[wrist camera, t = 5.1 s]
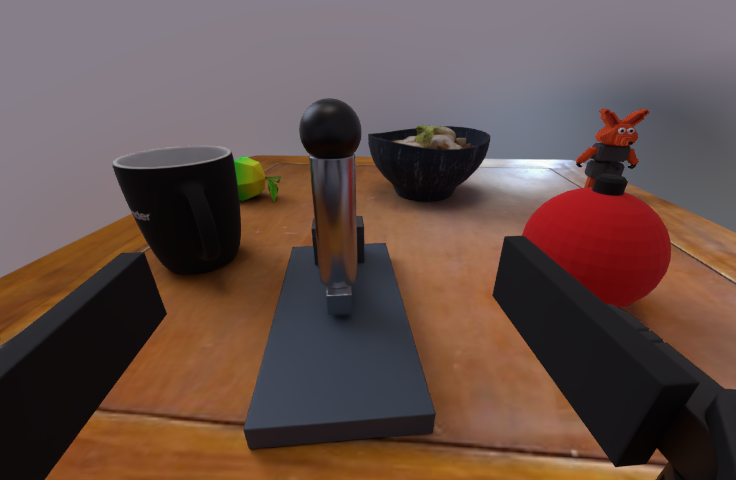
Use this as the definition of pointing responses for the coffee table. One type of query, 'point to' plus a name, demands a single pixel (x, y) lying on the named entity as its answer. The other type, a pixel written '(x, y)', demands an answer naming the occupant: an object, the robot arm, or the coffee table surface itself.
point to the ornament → (604, 239)
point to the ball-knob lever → (334, 195)
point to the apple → (253, 179)
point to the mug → (184, 204)
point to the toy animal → (612, 146)
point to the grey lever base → (339, 360)
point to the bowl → (428, 159)
